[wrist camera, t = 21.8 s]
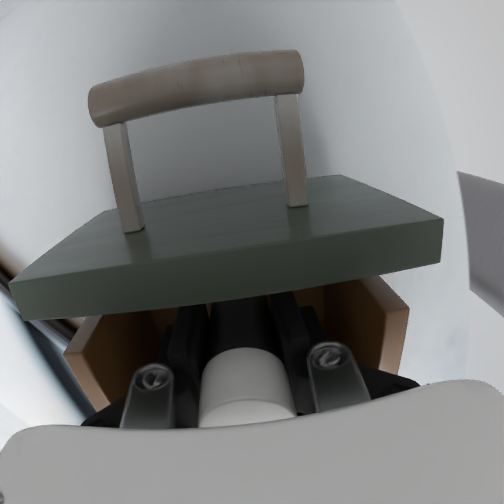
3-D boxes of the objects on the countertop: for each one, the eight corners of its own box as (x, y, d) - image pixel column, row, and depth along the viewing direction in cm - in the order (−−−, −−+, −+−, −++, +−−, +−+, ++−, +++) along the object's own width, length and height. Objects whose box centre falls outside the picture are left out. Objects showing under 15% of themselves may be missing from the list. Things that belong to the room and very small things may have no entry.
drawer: (86, 116, 12) (-31, 114, 4) (330, 76, 12) (429, 30, 5) (176, 416, 19) (165, 512, 11) (339, 393, 19) (374, 486, 12)
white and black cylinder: (267, 272, 13) (296, 391, 6) (273, 324, 13) (299, 446, 7) (203, 281, 12) (185, 403, 6) (215, 332, 13) (209, 457, 7)
